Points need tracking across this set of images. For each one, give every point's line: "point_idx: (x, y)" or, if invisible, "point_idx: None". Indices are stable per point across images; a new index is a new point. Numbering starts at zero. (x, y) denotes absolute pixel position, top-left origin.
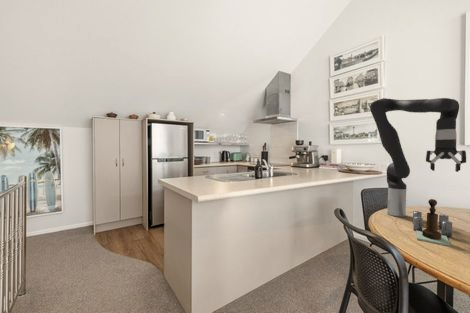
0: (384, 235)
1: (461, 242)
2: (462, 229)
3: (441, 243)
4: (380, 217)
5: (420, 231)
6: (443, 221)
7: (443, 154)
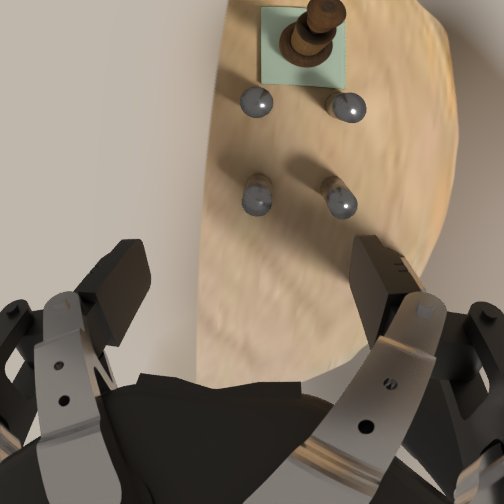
0: (421, 12)
1: (226, 65)
2: (208, 216)
3: (281, 7)
4: (431, 205)
5: (333, 84)
6: (268, 101)
7: (251, 498)
